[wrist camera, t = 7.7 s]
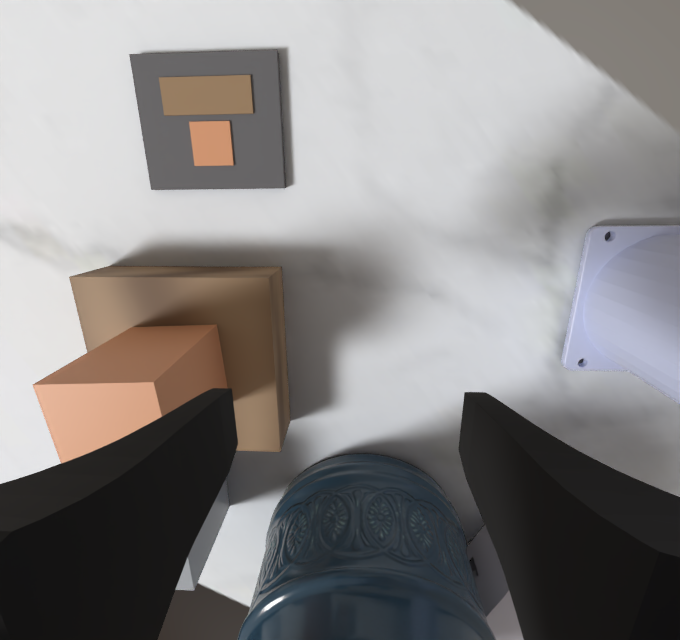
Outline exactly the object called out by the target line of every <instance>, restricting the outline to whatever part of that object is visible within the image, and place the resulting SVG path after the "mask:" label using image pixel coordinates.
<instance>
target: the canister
mask: <svg viewBox="0 0 680 640" xmlns="http://www.w3.org/2000/svg"><path fill="white" fill-rule="evenodd" d="M238 640H496V638H495V636H494V634H493V632H492V630H491V628H490V627H489V625H488V622H487V619H486V616H485V612H484V609H483V606H482V602H481V599H480V596H479V592H478V589H477V586H476V582H475V579H474V576H473V572H472V569H471V566H470V562H469V559H468V556H467V545H466V539H465V535H464V532H463V529H462V526H461V523H460V520H459V518H458V515H457V513H456V511H455V510H454V508H453V506H452V505H451V503H450V502H449V500H448V498H447V496H446V495H445V493H444V492H443V490H442V489H441V488H440V486H439V485H438V484H437V483H436V482H435V481H434V480H433V479H432V478H431V477H430V476H428V475H427V474H426V473H424V472H423V471H421V470H420V469H418V468H416V467H415V466H413V465H411V464H409V463H406V462H404V461H401V460H398V459H395V458H391V457H387V456H382V455H375V454H350V455H343V456H338V457H334V458H330V459H327V460H325V461H322V462H320V463H317V464H315V465H314V466H312V467H310V468H308V469H307V470H305V471H304V472H303V473H301V474H300V475H299V476H298V477H297V478H295V479H294V481H293V482H292V483H291V484H290V485H289V486H288V488H287V489H286V491H285V492H284V494H283V496H282V498H281V500H280V502H279V503H278V505H277V507H276V508H275V510H274V513H273V515H272V518H271V522H270V526H269V528H268V532H267V537H266V551H265V554H264V558H263V562H262V566H261V569H260V573H259V577H258V581H257V584H256V588H255V592H254V595H253V599H252V603H251V607H250V610H249V614H248V616H247V617H246V619H245V621H244V623H243V625H242V627H241V629H240V632H239V636H238Z"/></svg>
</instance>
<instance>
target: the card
mask: <svg viewBox="0 0 680 640" xmlns="http://www.w3.org/2000/svg"><path fill="white" fill-rule="evenodd" d="M129 55H130V61H131V67H132V73H133V79H134V86H135V92H136V98H137V104H138V110H139V117H140V123H141V129H142V135H143V141H144V147H145V154H146V160H147V166H148V172H149V178H150V184H151V190H176V189H256V188H286V183H285V165H284V146H283V127H282V108H281V90H280V71H279V53H278V51H277V50H249V51H218V52H187V53H155V54H129Z"/></svg>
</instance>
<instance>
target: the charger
mask: <svg viewBox="0 0 680 640" xmlns="http://www.w3.org/2000/svg"><path fill="white" fill-rule="evenodd" d="M467 556H468V559H469V561H470V559H471V558H472V557H473V559H472V560H471V561H470V566H471V569H472V572H473V576H474V579H475V582H476V586H477V589H478V592H479V596H480V599H481V602H482V606H483V609H484V612H485V616H486V619H487V622H488V625H489V627H490V628H491V630H492V632H493V634H494V636H495V638H496V640H524V639H523V635H522V632H521V628H520V625H519V621H518V618H517V614H516V611H515V608H514V604H513V601H512V598H511V595H510V591H509V588H508V585H507V581H506V578H505V575H504V572H503V569H502V566H501V563H500V560H499V558H498V555H497V552H496V550H495V547H494V545H493V543H492V540H491V538H490V535H489V533H488V531H487V528H486V526H485V525H484V526H483V527H482V528H481V530H480V531H479V532H478V534H477V535H476V536H475V537H474V539H473V540H472V541H471V543H470V544H469V545H468V546H467Z"/></svg>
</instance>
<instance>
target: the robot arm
mask: <svg viewBox="0 0 680 640" xmlns="http://www.w3.org/2000/svg"><path fill="white" fill-rule="evenodd" d="M607 232H610V234H611V236H610V238H609V239H608V240H605V235H606V233H607ZM581 359H584V360H583V362H582V363H581V364H578V362H579V360H581ZM561 363H562V365H563V366H564V367H565V368H566V369H568V370H579V371H629V372H630V373H632V374H634V375H635V376H637V377H638V378H640V379H641V380H643V381H644V382H646V383H648V384H649V385H651V386H652V387H654V388H655V389H657V390H658V391H660V392H661V393H663V394H665V395H666V396H668V397H669V398H671V399H672V400H674V401H675V402H677V403H678V404H680V225H636V226H594V227H592V228H590V229H589V230H588V232H587V234H586V237H585V242H584V247H583V252H582V257H581V262H580V267H579V273H578V278H577V283H576V288H575V293H574V298H573V303H572V308H571V313H570V319H569V324H568V329H567V334H566V339H565V344H564V349H563V354H562V359H561ZM237 446H238V438H237V429H236V420H235V412H234V403H233V395H232V388H212V389H210V390H208V391H206V392H204V393H202V394H200V395H198V396H197V397H195V398H193V399H191V400H190V401H188V402H186V403H184V404H183V405H181V406H179V407H178V408H176V409H174V410H172V411H171V412H169V413H167V414H166V415H164V416H162V417H160V418H159V419H157V420H155V421H153V422H151V423H149V424H147V425H146V426H144V427H142V428H140V429H138V430H136V431H134V432H133V433H131V434H129V435H127V436H125V437H123V438H121V439H119V440H117V441H114V442H112V443H110V444H108V445H106V446H103V447H101V448H99V449H97V450H94V451H92V452H90V453H87V454H85V455H83V456H80V457H77V458H75V459H72V460H69V461H67V462H64V463H61V464H59V465H56V466H53V467H51V468H48V469H45V470H43V471H40V472H37V473H34V474H31V475H28V476H25V477H22V478H19V479H16V480H13V481H9V482H6V483H3V484H0V640H157V639H158V636H159V633H160V631H161V628H162V625H163V622H164V619H165V617H166V614H167V611H168V608H169V605H170V603H171V600H172V597H173V594H174V592H175V589H176V586H177V584H178V581H179V579H180V576H181V573H182V571H183V568H184V566H185V563H186V560H187V558H188V555H189V553H190V551H191V549H192V546H193V544H194V542H195V540H196V538H197V536H198V534H199V532H200V530H201V528H202V526H203V524H204V522H205V520H206V518H207V516H208V514H209V512H210V510H211V508H212V506H213V504H214V502H215V500H216V498H217V496H218V494H219V491H220V489H221V487H222V485H223V483H224V481H225V479H226V477H227V475H228V473H229V470H230V467H231V464H232V461H233V458H234V455H235V452H236V449H237ZM459 453H460V457H461V461H462V465H463V468H464V472H465V476H466V479H467V482H468V484H469V487H470V489H471V492H472V494H473V497H474V499H475V502H476V504H477V506H478V509H479V511H480V514H481V516H482V519H483V521H484V523H485V526H486V528H487V531H488V533H489V535H490V538H491V540H492V543H493V545H494V547H495V550H496V552H497V555H498V558H499V560H500V563H501V566H502V569H503V572H504V575H505V578H506V581H507V585H508V588H509V591H510V595H511V598H512V601H513V604H514V608H515V611H516V614H517V618H518V621H519V625H520V628H521V632H522V635H523V639H524V640H680V497H678V496H675V495H673V494H670V493H667V492H665V491H662V490H660V489H658V488H655V487H653V486H651V485H648V484H646V483H644V482H641V481H639V480H637V479H634V478H632V477H630V476H628V475H625V474H623V473H621V472H619V471H617V470H615V469H612V468H610V467H608V466H607V465H605V464H603V463H601V462H599V461H597V460H595V459H593V458H591V457H589V456H587V455H585V454H583V453H581V452H579V451H577V450H576V449H574V448H572V447H570V446H569V445H567V444H565V443H564V442H562V441H560V440H558V439H557V438H555V437H553V436H552V435H550V434H549V433H547V432H545V431H544V430H542V429H541V428H539V427H537V426H536V425H534V424H533V423H531V422H530V421H528V420H527V419H525V418H524V417H522V416H521V415H519V414H518V413H516V412H515V411H513V410H512V409H510V408H509V407H507V406H506V405H504V404H503V403H501V402H500V401H498V400H497V399H495V398H494V397H492V396H491V395H489V394H487V393H481V392H465V395H464V404H463V413H462V422H461V431H460V441H459Z"/></svg>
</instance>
